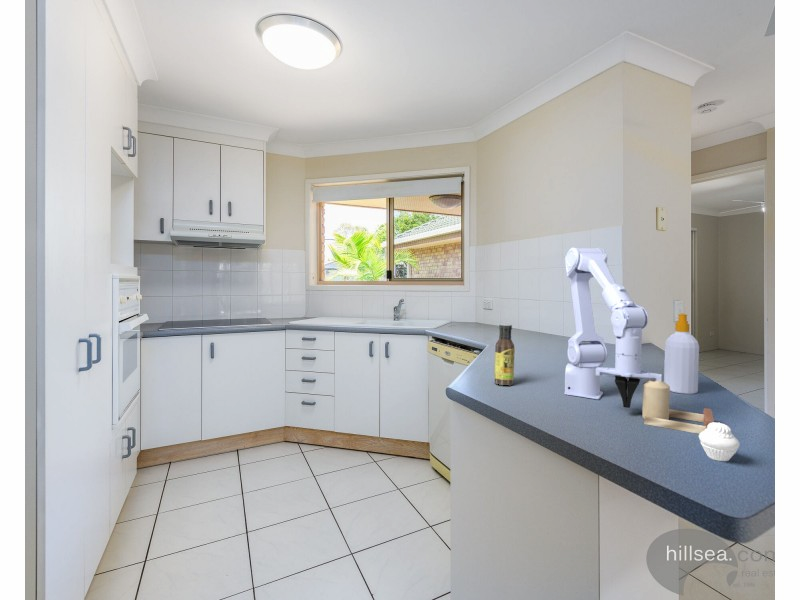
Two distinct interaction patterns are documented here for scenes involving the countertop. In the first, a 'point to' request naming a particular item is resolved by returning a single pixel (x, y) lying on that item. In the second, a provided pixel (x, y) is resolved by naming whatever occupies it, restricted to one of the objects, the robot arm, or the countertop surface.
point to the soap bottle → (681, 359)
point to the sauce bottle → (504, 357)
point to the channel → (682, 426)
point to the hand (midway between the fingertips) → (626, 406)
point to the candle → (656, 399)
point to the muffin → (718, 441)
